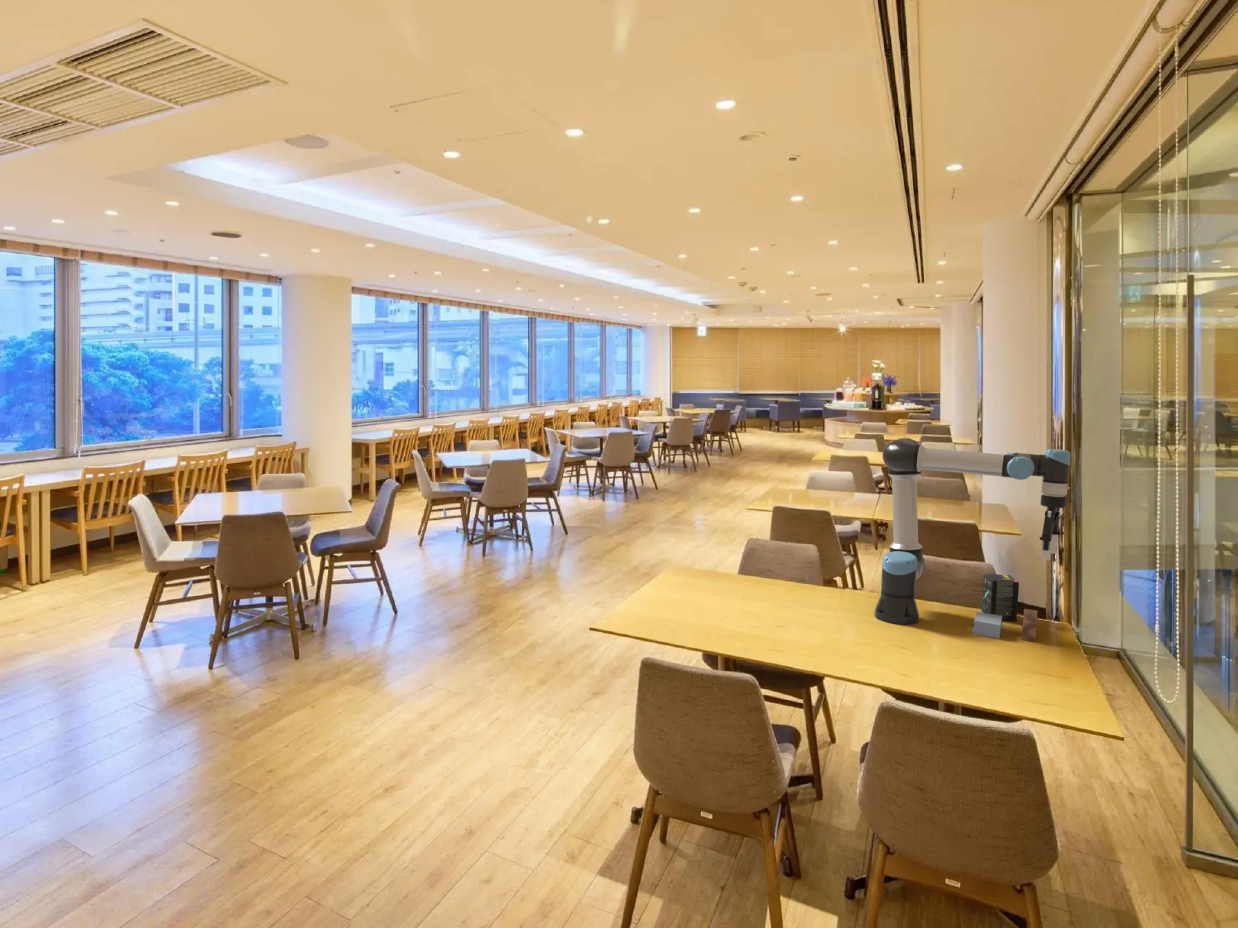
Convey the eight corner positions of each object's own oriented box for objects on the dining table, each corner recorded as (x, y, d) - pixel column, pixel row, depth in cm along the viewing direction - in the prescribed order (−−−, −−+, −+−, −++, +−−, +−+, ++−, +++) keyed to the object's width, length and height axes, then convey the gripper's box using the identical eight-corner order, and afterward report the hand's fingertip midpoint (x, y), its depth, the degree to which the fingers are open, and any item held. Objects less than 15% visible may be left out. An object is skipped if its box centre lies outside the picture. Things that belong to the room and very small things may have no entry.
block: (972, 635, 249) (973, 620, 248) (975, 625, 259) (976, 611, 259) (999, 639, 245) (1000, 624, 244) (1001, 629, 255) (1002, 615, 255)
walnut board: (1021, 639, 244) (1023, 622, 244) (1022, 625, 260) (1024, 608, 259) (1035, 641, 242) (1036, 624, 242) (1035, 627, 258) (1037, 610, 257)
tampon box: (1017, 621, 264) (1020, 581, 262) (989, 619, 266) (992, 580, 264) (1007, 612, 275) (1010, 574, 273) (981, 610, 276) (983, 572, 275)
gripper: (1061, 500, 236) (1055, 564, 238) (1071, 492, 255) (1066, 552, 258) (1035, 497, 241) (1029, 560, 243) (1047, 490, 260) (1041, 548, 262)
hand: (1048, 556), depth 250 cm, fingers open, 13 cm apart
